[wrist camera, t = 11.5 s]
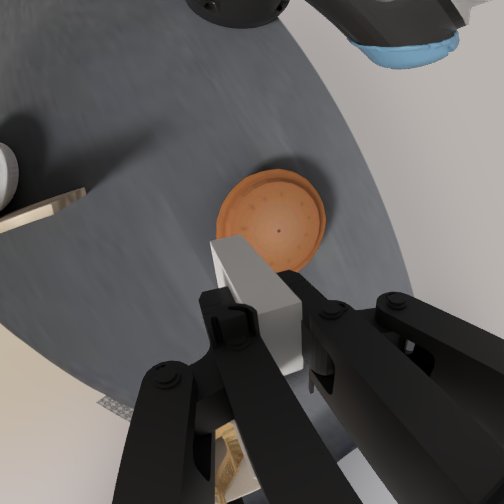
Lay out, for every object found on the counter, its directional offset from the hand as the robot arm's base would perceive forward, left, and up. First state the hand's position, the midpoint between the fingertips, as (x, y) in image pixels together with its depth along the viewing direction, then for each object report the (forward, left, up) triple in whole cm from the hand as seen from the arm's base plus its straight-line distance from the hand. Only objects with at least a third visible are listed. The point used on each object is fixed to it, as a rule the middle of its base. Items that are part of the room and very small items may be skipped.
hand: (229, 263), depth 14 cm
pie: (+6, +10, -25) cm, 27 cm away
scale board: (-4, -27, -24) cm, 36 cm away
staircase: (+38, -5, -25) cm, 46 cm away
